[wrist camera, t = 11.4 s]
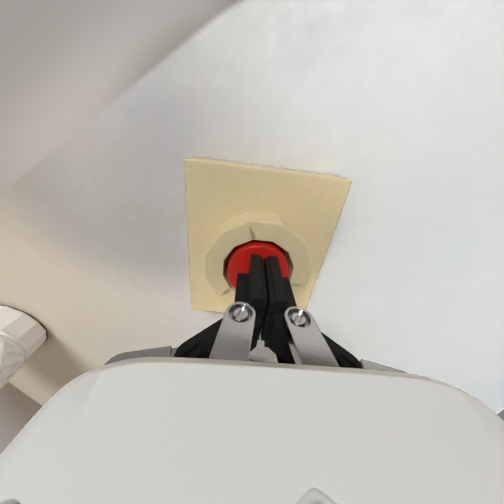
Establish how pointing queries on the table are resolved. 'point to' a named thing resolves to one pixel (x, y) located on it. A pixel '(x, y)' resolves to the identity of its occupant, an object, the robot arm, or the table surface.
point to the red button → (243, 252)
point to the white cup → (17, 341)
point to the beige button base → (256, 223)
